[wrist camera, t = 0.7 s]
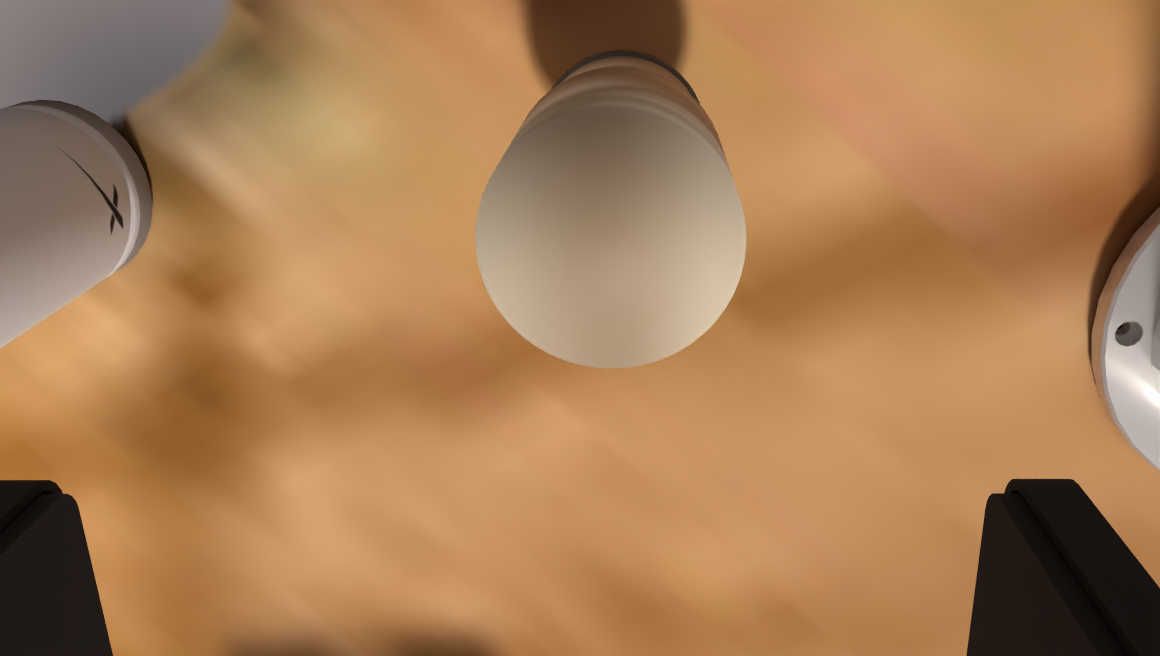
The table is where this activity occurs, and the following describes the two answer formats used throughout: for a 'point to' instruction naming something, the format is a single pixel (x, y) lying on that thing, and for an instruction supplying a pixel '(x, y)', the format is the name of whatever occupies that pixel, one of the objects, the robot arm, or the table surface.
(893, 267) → the table surface
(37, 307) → the travel mug
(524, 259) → the ash leg
